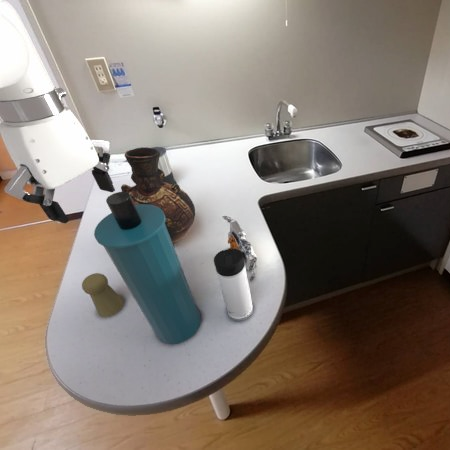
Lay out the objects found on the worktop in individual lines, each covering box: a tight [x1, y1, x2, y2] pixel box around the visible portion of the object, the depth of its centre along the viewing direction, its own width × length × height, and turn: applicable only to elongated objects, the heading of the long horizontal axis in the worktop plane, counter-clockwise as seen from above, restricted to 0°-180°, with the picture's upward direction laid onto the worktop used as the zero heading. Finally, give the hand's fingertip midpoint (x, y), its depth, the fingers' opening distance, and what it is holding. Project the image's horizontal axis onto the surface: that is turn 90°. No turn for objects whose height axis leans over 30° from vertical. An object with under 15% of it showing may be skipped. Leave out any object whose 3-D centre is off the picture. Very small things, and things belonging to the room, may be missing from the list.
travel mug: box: [213, 248, 254, 322], centre depth 71 cm, size 6×7×20 cm
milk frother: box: [130, 146, 178, 184], centre depth 114 cm, size 14×16×15 cm
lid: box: [93, 191, 165, 248], centre depth 52 cm, size 11×11×7 cm
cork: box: [81, 272, 125, 318], centre depth 75 cm, size 6×6×11 cm
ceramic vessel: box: [120, 146, 196, 244], centre depth 89 cm, size 21×18×30 cm
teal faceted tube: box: [103, 224, 202, 345], centre depth 64 cm, size 10×10×32 cm
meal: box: [222, 215, 258, 281], centre depth 85 cm, size 15×4×13 cm, turn 35°
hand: (86, 204), depth 54 cm, fingers open, 9 cm apart
